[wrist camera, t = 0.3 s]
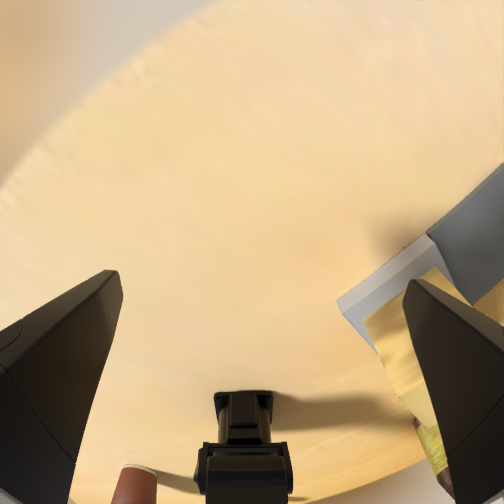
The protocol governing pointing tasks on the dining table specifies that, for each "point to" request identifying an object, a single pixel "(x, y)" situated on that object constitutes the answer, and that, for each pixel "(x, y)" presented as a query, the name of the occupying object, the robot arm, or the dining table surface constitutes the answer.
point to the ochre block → (405, 349)
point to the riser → (390, 282)
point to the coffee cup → (136, 486)
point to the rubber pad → (474, 238)
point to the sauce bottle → (435, 454)
